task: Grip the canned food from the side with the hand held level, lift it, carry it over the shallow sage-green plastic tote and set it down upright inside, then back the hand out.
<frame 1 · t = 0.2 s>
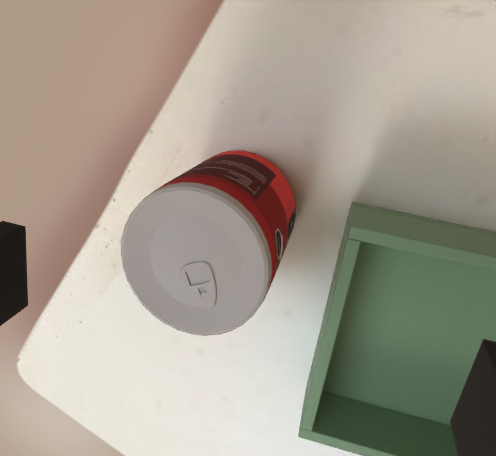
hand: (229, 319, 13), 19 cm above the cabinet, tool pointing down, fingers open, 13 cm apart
tote: (437, 330, 33), on the cabinet
canned food: (244, 204, 33), on the cabinet
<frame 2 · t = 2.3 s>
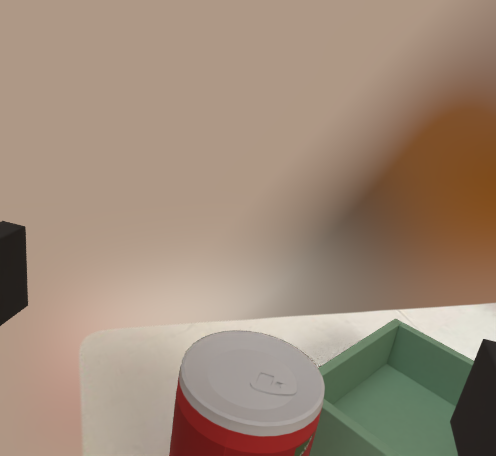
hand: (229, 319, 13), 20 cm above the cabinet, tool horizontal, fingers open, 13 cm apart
tote: (419, 452, 36), on the cabinet
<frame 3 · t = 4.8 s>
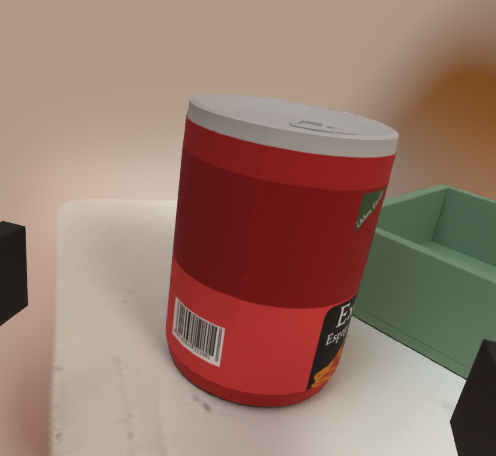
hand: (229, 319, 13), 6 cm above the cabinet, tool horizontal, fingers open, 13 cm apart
tote: (488, 314, 28), on the cabinet
canned food: (249, 354, 22), on the cabinet
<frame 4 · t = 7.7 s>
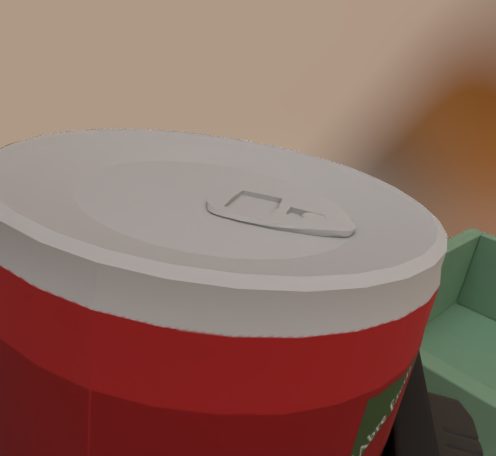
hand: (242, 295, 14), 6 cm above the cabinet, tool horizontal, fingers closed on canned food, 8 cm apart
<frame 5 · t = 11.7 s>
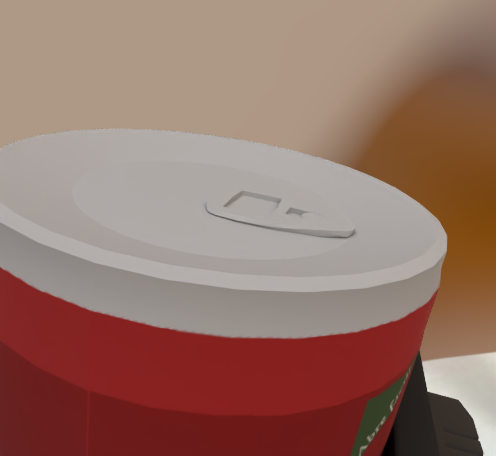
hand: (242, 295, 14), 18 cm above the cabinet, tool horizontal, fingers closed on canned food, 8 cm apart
when the fingers open (7 cm above the cabinet, at t = 15.8 s): canned food stays where it is, resting on tote.
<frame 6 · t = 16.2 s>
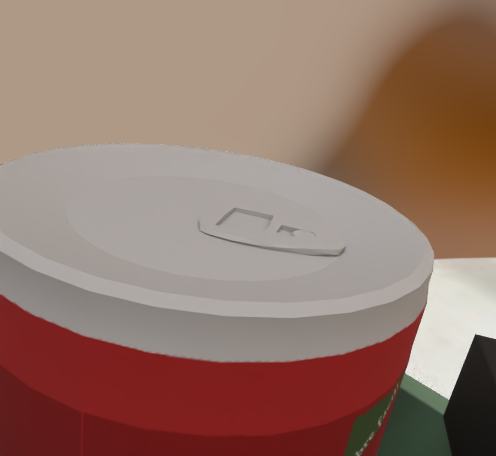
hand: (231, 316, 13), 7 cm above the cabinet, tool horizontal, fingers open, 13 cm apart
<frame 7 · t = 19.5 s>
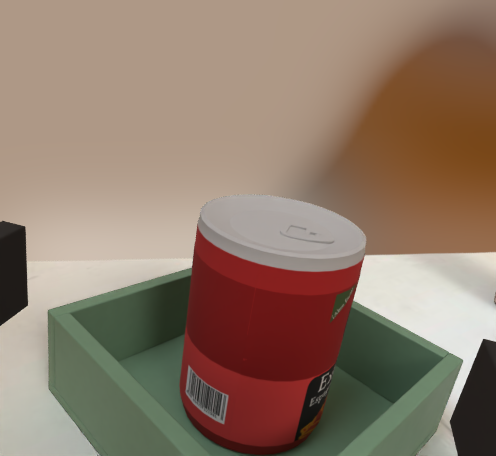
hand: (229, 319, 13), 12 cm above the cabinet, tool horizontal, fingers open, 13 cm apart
tote: (247, 410, 26), on the cabinet
canned food: (248, 405, 26), resting on tote
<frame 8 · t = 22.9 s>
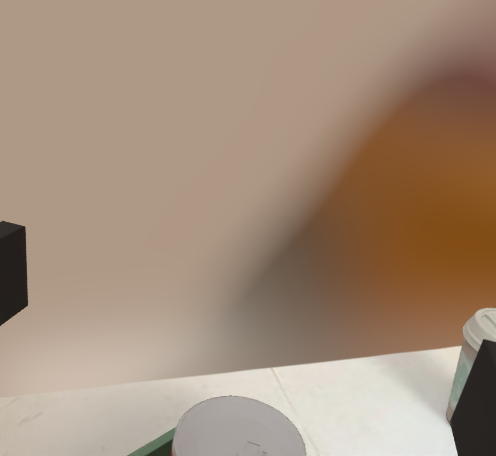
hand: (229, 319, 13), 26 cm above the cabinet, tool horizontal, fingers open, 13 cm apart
coffee cup: (474, 427, 48), on the cabinet
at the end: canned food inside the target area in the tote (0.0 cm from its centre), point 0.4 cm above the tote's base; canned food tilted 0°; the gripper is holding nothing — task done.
